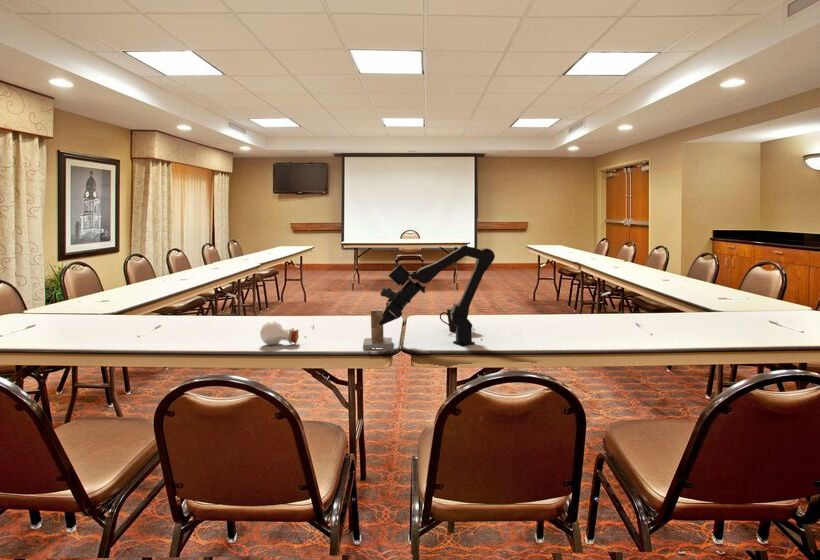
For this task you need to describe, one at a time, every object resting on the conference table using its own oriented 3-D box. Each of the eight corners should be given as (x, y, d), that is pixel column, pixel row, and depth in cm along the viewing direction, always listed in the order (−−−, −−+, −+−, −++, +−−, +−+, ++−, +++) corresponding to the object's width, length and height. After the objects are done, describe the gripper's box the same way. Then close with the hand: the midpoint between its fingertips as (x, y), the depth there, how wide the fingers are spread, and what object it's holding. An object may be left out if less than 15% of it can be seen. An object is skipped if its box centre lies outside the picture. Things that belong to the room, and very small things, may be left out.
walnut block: (383, 339, 210) (382, 308, 209) (383, 342, 206) (382, 310, 204) (372, 339, 210) (371, 308, 209) (371, 342, 206) (370, 310, 204)
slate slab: (391, 342, 214) (391, 337, 214) (391, 349, 203) (391, 343, 203) (364, 343, 214) (364, 338, 213) (363, 349, 203) (362, 344, 202)
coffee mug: (466, 328, 237) (466, 306, 236) (466, 332, 228) (466, 309, 227) (440, 328, 238) (440, 306, 237) (439, 332, 229) (439, 310, 228)
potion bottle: (260, 347, 217) (296, 351, 216) (253, 337, 209) (290, 342, 207) (267, 326, 222) (301, 330, 220) (260, 316, 213) (296, 321, 212)
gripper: (392, 276, 215) (366, 304, 216) (391, 282, 196) (363, 313, 197) (412, 295, 216) (386, 323, 217) (413, 302, 197) (385, 332, 198)
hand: (380, 322), depth 207 cm, fingers open, 9 cm apart
